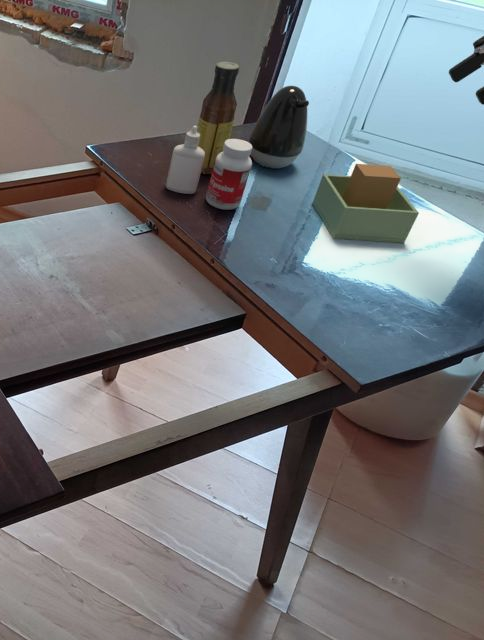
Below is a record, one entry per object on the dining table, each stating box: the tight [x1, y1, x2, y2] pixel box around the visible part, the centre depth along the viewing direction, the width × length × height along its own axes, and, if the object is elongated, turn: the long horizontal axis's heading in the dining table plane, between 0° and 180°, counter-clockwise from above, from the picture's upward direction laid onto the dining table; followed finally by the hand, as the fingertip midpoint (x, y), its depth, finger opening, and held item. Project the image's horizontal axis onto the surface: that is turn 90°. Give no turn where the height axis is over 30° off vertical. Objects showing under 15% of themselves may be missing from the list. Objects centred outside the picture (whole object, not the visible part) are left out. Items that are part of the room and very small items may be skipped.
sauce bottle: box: [197, 61, 240, 174], centre depth 127 cm, size 7×6×20 cm
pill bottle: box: [205, 138, 253, 211], centre depth 120 cm, size 6×6×11 cm
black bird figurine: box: [248, 85, 310, 169], centre depth 132 cm, size 10×10×15 cm
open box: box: [312, 173, 420, 244], centre depth 119 cm, size 12×12×6 cm
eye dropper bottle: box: [165, 125, 205, 195], centre depth 123 cm, size 4×6×12 cm
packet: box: [342, 163, 402, 209], centre depth 117 cm, size 4×6×9 cm
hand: (464, 87), depth 97 cm, fingers open, 8 cm apart
